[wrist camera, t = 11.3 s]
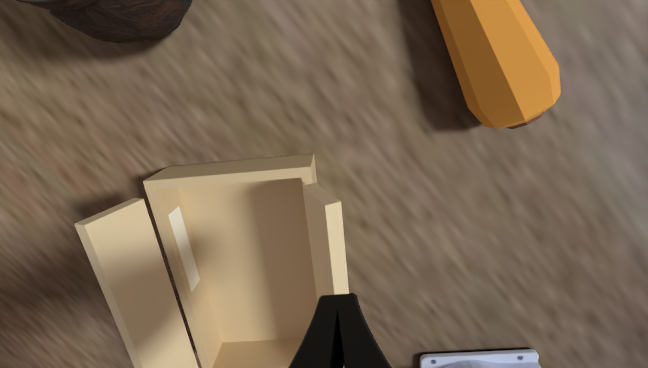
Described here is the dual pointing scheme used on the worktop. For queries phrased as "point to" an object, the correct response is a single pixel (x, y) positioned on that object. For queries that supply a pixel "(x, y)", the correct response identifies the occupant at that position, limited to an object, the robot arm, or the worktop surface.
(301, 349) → the robot arm
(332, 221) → the flap
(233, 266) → the carton
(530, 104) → the carrot
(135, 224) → the flap
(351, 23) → the worktop surface
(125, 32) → the mate gourd
